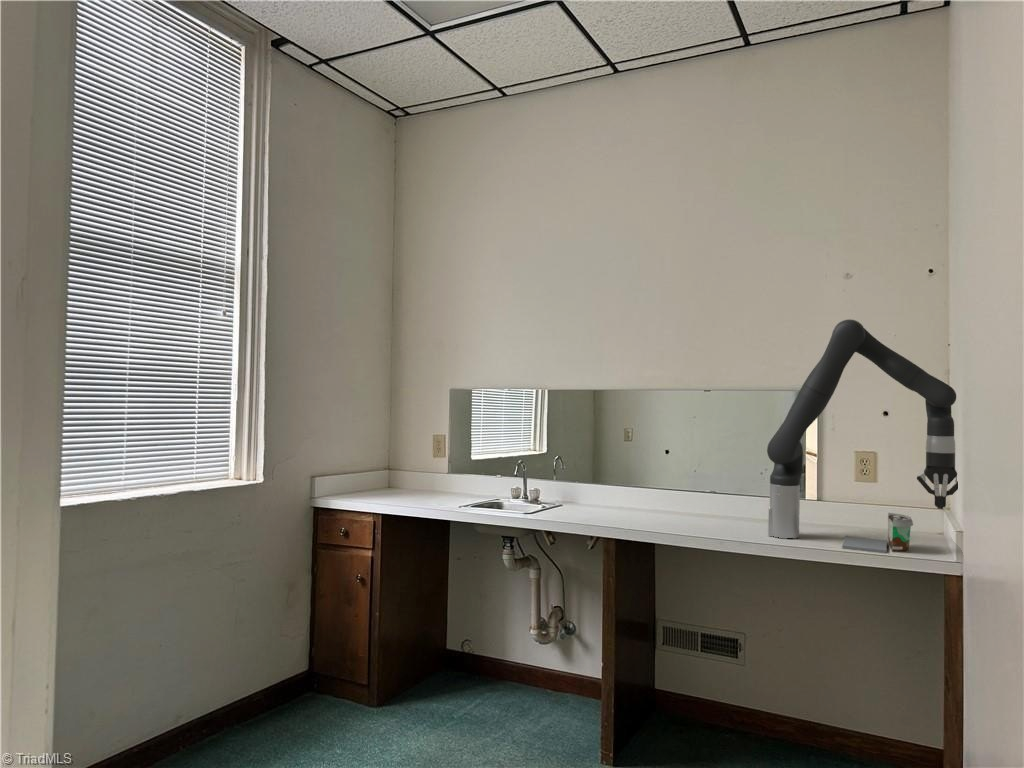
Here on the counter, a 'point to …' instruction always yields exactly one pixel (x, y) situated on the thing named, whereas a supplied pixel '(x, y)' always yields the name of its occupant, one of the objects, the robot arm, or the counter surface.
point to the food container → (899, 532)
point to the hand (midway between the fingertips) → (940, 508)
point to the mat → (865, 544)
